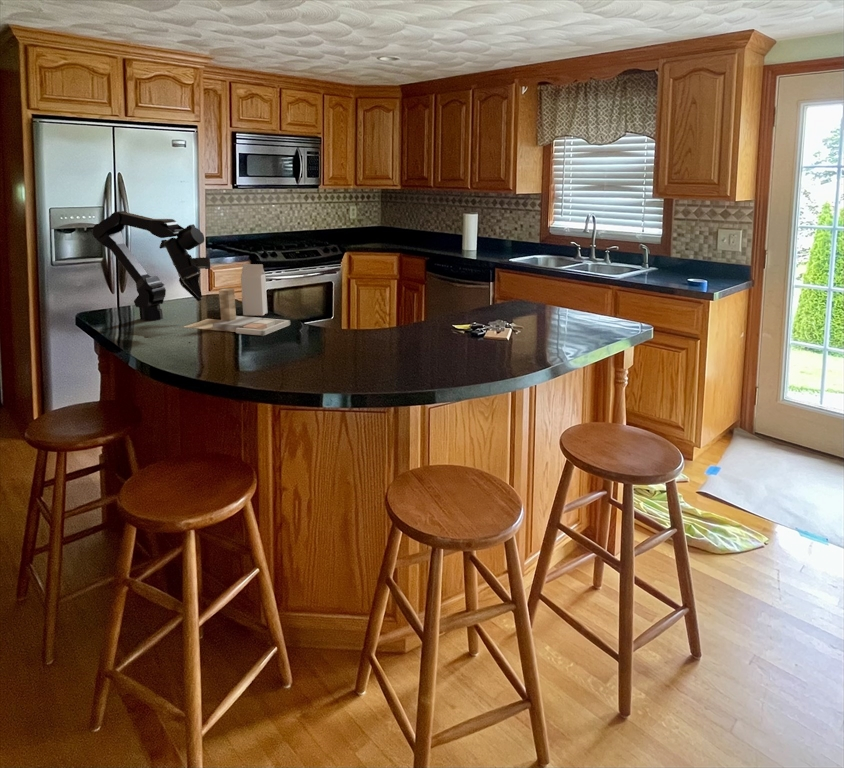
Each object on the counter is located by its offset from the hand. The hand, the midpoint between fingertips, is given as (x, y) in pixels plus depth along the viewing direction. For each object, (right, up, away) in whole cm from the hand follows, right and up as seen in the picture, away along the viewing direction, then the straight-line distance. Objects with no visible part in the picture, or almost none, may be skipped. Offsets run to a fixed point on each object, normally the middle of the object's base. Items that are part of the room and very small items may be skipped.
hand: (200, 299), depth 250 cm
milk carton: (+14, -5, +19) cm, 24 cm away
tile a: (+22, -10, -2) cm, 24 cm away
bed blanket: (+13, -9, -2) cm, 16 cm away
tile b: (+20, -12, -7) cm, 24 cm away
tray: (+22, -12, -5) cm, 26 cm away
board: (+7, -10, 0) cm, 12 cm away
